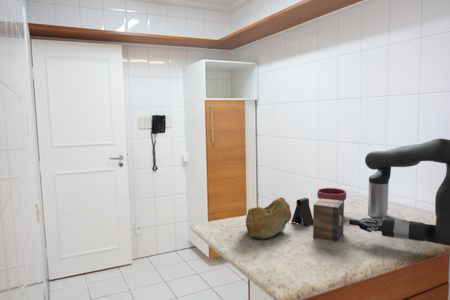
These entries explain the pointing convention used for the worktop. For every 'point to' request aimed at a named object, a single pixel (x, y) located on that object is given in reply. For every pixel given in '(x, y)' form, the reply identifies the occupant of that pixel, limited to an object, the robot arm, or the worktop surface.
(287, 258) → the worktop surface
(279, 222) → the rough brown rock
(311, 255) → the worktop surface
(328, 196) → the plant pot
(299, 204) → the phone stand
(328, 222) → the housing
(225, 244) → the worktop surface
